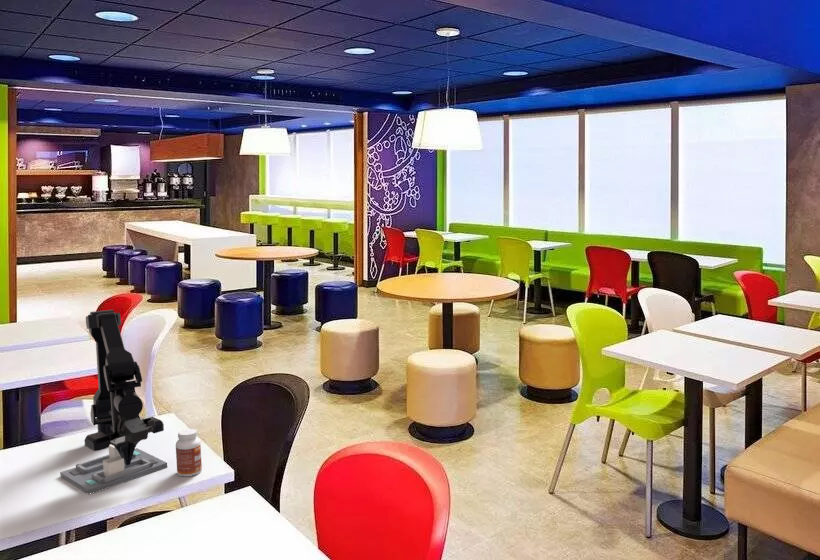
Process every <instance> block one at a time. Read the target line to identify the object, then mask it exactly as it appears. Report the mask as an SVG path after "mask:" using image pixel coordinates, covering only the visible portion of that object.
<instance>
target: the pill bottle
mask: <svg viewBox="0 0 820 560" xmlns="http://www.w3.org/2000/svg"><path fill="white" fill-rule="evenodd" d="M197 436H198V431H197V429H195V428H186V429H181V430H179V431H178V432H177V437H178V440H176V443H175V455H176V456H175V457H176V458H175V459H176V460H175V461H176V471H177V474H178V476H180V477H192V476H191V475H193V476H196V475H198V474H200V473H201V472H202V470H203V469H202V466H203V465H202V448H201V446H202V445H201V440H200V438H198V437H197ZM199 472H200V473H199ZM195 474H196V475H195Z"/></svg>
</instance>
